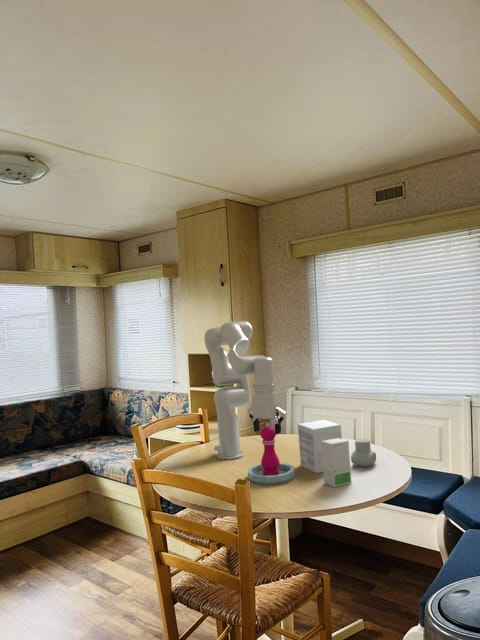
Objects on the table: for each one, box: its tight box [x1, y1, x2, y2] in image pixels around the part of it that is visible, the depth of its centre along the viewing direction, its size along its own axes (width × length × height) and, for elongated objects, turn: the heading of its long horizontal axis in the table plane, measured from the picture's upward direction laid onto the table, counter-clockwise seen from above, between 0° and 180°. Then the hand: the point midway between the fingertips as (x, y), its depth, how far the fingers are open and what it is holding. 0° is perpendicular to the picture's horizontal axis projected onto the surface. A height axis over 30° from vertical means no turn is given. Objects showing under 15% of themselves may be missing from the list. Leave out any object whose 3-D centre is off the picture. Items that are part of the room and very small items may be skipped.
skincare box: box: [321, 438, 352, 488], centre depth 176 cm, size 8×7×16 cm
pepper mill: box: [260, 422, 281, 476], centre depth 188 cm, size 7×7×20 cm
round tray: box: [247, 462, 296, 486], centre depth 188 cm, size 18×18×3 cm
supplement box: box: [297, 419, 343, 474], centre depth 197 cm, size 13×13×18 cm
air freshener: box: [350, 438, 377, 468], centre depth 195 cm, size 11×8×10 cm
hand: (267, 432), depth 188 cm, fingers open, 9 cm apart
